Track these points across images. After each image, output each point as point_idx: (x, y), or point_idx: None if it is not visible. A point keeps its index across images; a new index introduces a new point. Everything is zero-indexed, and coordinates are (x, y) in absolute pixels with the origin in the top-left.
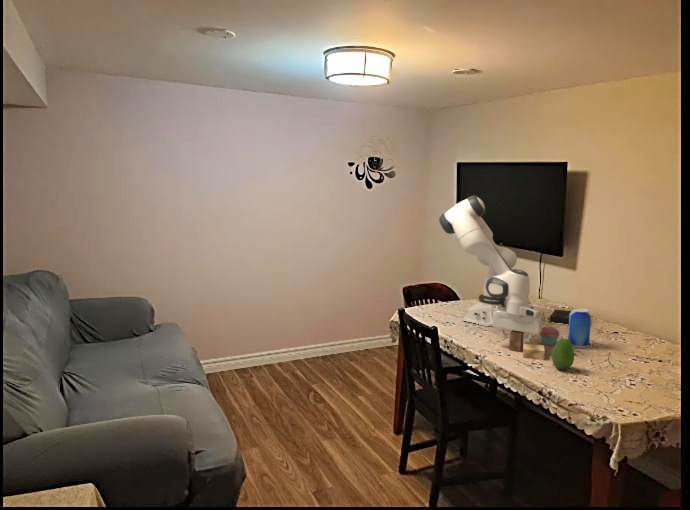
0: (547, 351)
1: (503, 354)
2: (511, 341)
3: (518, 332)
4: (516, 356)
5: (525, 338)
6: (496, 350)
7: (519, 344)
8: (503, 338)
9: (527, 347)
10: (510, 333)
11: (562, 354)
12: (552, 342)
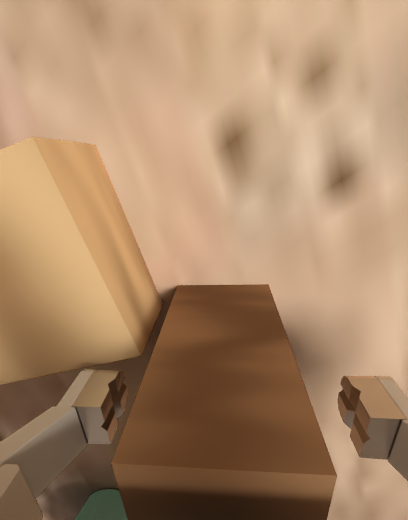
0: (45, 388)
1: (287, 132)
2: (264, 338)
3: (179, 500)
4: (158, 150)
5: (101, 413)
6: (377, 220)
7: (173, 325)
8: (378, 378)
9: (34, 239)
10: (314, 441)
11: None
12: (83, 506)
